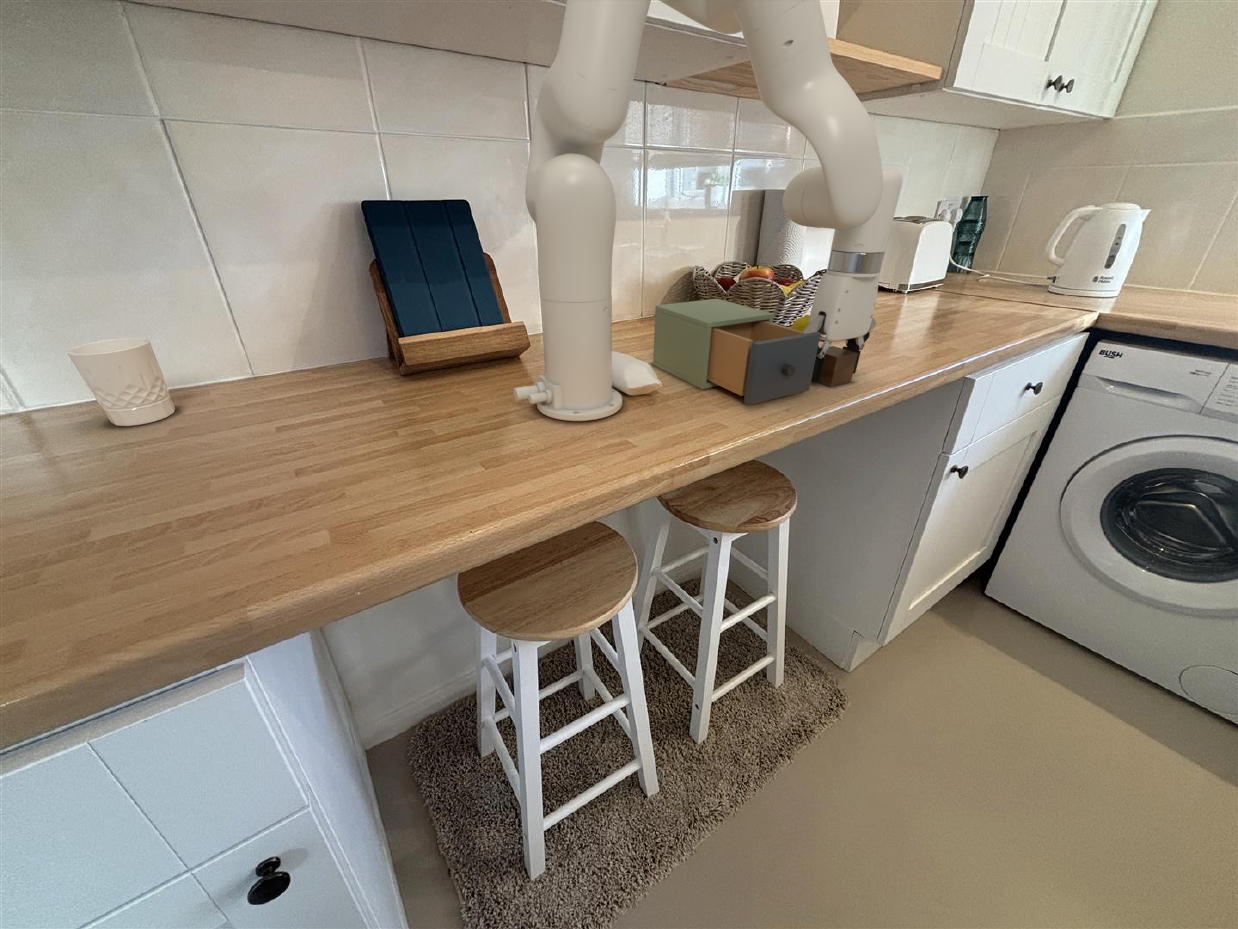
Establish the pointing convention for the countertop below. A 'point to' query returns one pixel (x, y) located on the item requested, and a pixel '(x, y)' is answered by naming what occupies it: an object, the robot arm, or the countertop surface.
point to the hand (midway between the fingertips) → (829, 374)
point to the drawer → (761, 359)
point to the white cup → (124, 379)
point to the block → (838, 366)
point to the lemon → (801, 323)
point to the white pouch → (633, 375)
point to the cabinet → (694, 335)
